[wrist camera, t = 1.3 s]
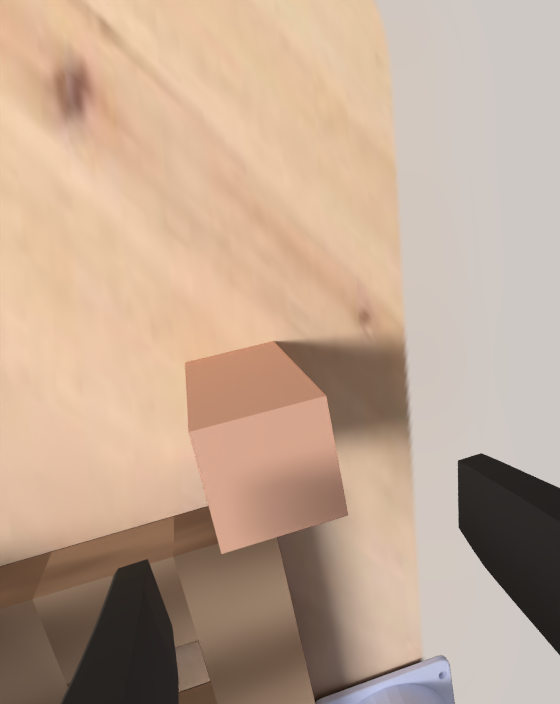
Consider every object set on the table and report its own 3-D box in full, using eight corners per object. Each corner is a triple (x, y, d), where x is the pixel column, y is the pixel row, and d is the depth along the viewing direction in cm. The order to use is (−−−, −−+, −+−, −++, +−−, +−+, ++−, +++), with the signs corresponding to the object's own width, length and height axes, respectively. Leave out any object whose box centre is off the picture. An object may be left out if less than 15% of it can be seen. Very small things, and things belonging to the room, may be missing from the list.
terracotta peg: (290, 422, 22) (347, 515, 15) (206, 445, 22) (221, 554, 14) (273, 341, 21) (326, 395, 14) (185, 362, 21) (188, 432, 13)
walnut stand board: (313, 711, 26) (330, 768, 24) (53, 807, 24) (36, 882, 21) (262, 490, 23) (274, 526, 20) (-49, 581, 21) (-86, 635, 18)
